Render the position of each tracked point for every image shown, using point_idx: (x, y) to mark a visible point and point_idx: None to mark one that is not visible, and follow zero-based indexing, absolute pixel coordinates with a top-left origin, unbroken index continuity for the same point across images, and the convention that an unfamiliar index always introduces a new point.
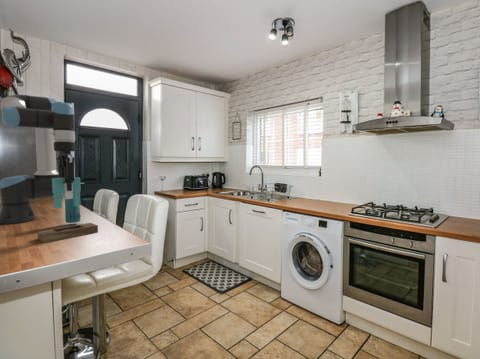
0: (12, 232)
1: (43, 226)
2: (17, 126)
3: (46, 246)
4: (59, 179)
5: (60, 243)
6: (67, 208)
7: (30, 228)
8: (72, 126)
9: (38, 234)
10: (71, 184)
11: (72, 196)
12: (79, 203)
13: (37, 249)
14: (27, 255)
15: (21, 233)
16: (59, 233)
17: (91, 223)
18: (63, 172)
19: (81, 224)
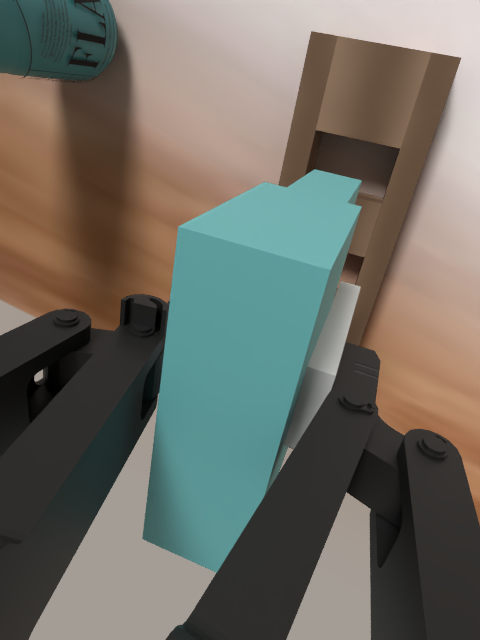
0: (48, 299)
1: (21, 166)
2: None
3: (424, 380)
4: None
5: (446, 329)
6: (24, 70)
7: (23, 223)
8: None
9: None
10: (374, 400)
11: (356, 298)
12: (357, 193)
13: (429, 418)
14: (472, 474)
15: (94, 294)
16: (372, 303)
17: (345, 44)
18: (97, 493)
19: (303, 111)
